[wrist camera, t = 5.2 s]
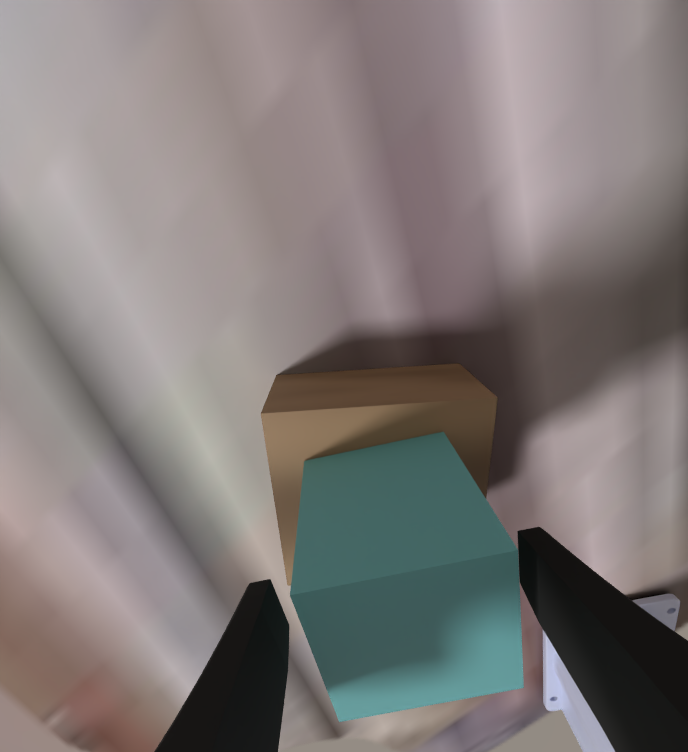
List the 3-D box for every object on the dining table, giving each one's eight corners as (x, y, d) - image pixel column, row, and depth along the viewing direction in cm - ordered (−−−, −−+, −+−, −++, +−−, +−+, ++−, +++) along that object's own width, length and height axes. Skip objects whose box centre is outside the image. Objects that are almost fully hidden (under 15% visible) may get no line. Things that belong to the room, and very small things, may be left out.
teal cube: (456, 537, 14) (523, 687, 9) (335, 562, 14) (339, 721, 9) (443, 431, 12) (518, 550, 7) (304, 460, 12) (290, 595, 7)
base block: (447, 504, 18) (477, 570, 14) (296, 515, 18) (287, 585, 14) (456, 361, 15) (497, 397, 12) (277, 372, 15) (261, 413, 11)
